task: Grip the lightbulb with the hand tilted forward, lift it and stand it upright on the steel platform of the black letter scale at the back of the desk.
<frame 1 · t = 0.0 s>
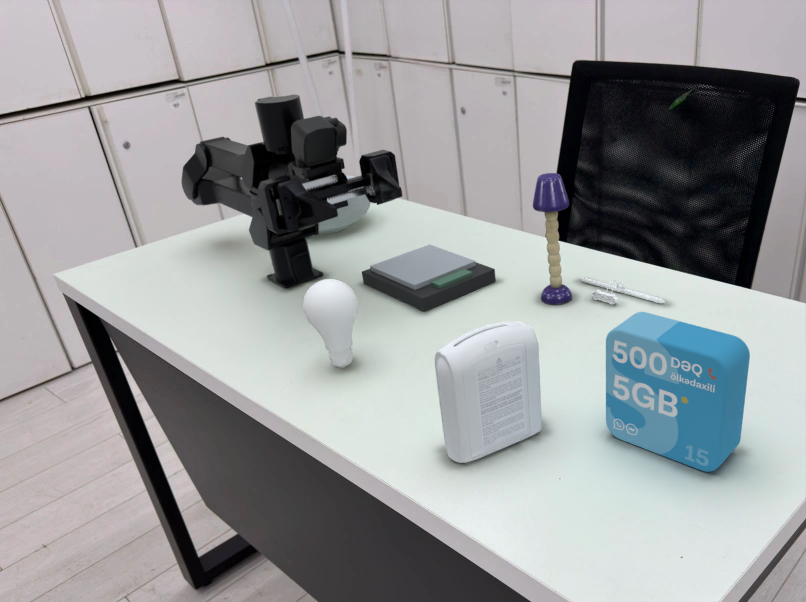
hand: (369, 202, 89), 17 cm above the table, tool horizontal, fingers open, 9 cm apart
scale: (429, 282, 109), on the table
data package: (670, 445, 71), on the table
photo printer: (495, 442, 74), on the table
picture light: (612, 298, 101), on the table
toy lamp: (555, 298, 102), on the table
lightbulb: (343, 367, 89), on the table
cereal bowl: (329, 227, 134), on the table
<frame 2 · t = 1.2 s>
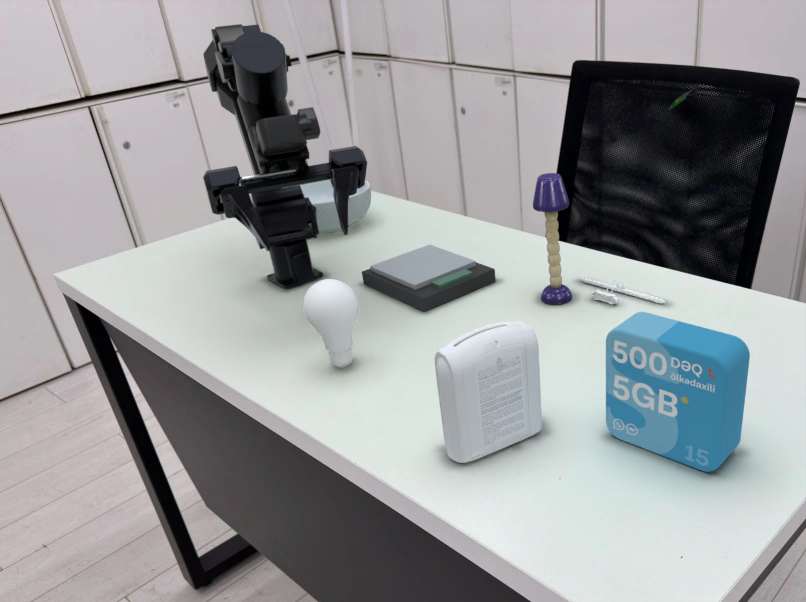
hand: (308, 241, 88), 13 cm above the table, tool tilted 45°, fingers open, 9 cm apart
nothing on the table moved.
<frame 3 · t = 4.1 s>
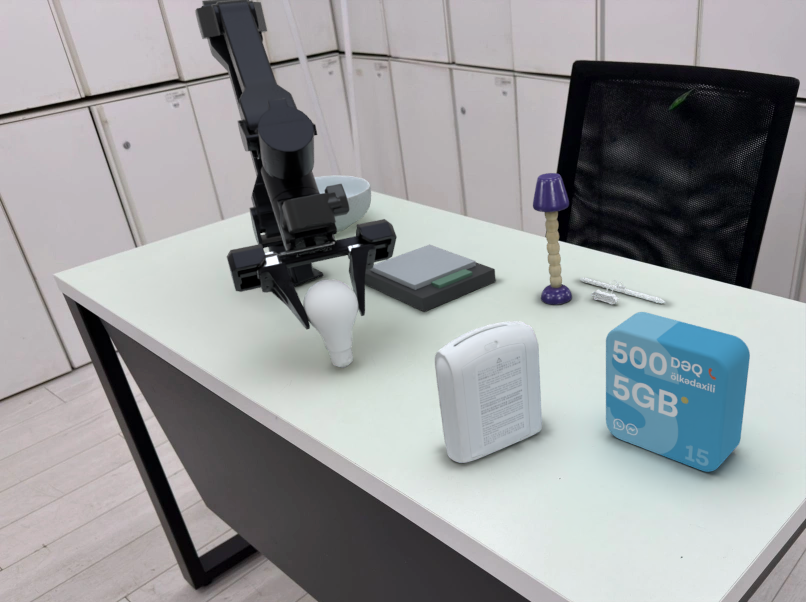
hand: (335, 321, 84), 7 cm above the table, tool tilted 45°, fingers closed on lightbulb, 6 cm apart
lightbulb: (344, 367, 89), on the table, touching gripper
everything else where it was.
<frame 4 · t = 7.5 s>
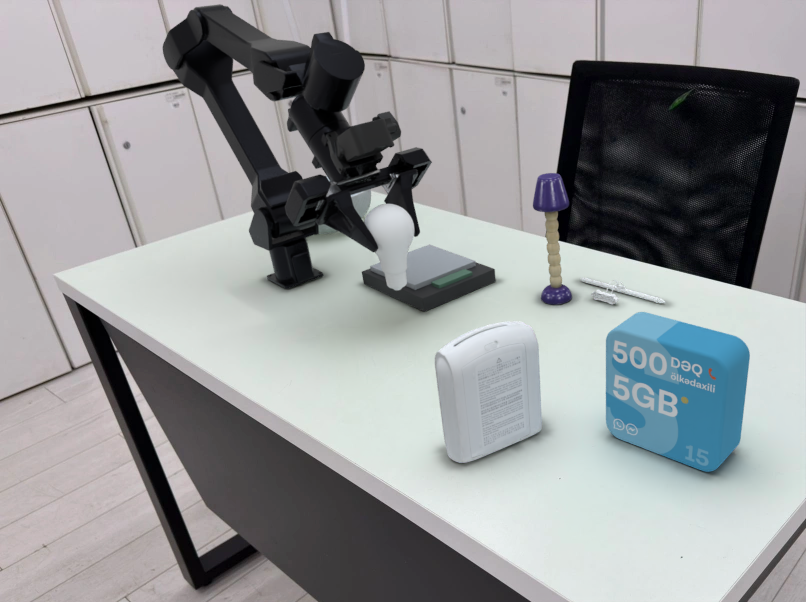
hand: (397, 242, 90), 12 cm above the table, tool tilted 45°, fingers closed on lightbulb, 6 cm apart
lightbulb: (398, 291, 94), point 5 cm above the table, touching gripper
everything else where it was.
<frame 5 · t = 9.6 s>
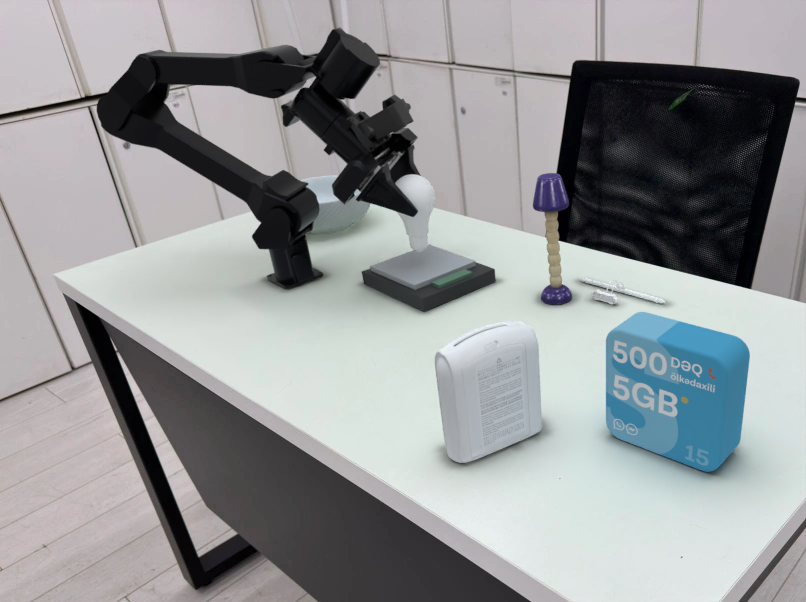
hand: (423, 207, 103), 11 cm above the table, tool tilted 45°, fingers closed on lightbulb, 6 cm apart
lightbulb: (420, 253, 107), point 5 cm above the table, touching gripper
everything else where it was.
when the fingers open (9 cm above the table, at t = 11.1 s): lightbulb stays where it is, resting on scale.
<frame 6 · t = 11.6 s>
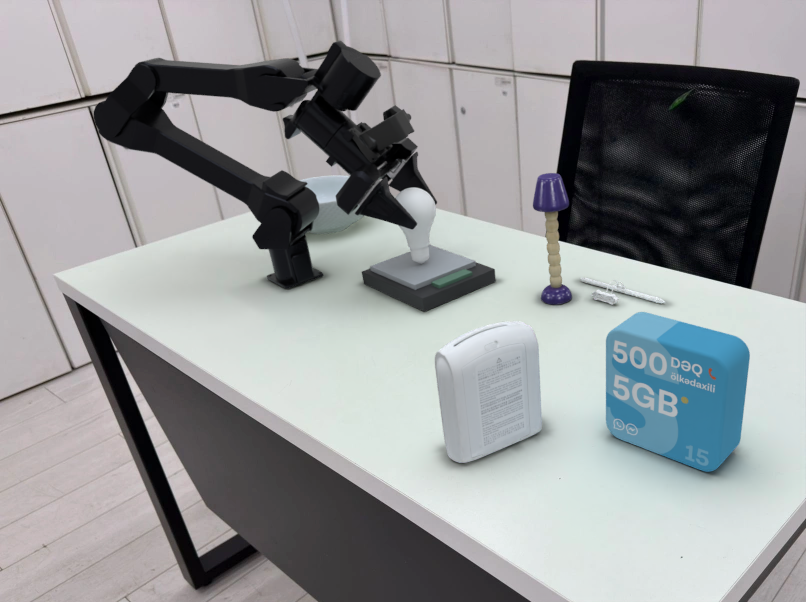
hand: (425, 215, 104), 10 cm above the table, tool tilted 45°, fingers open, 9 cm apart
lightbulb: (421, 264, 108), point 3 cm above the table, touching scale
everything else where it was.
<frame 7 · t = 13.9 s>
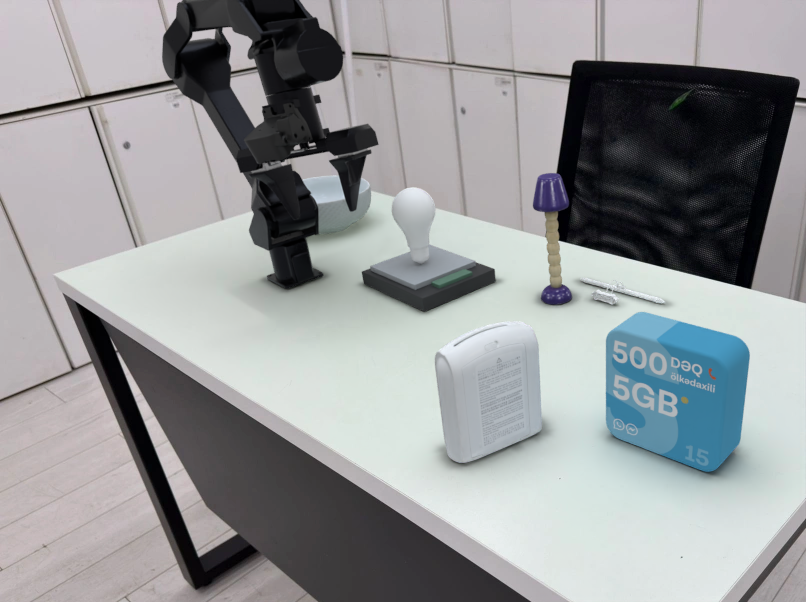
hand: (324, 215, 99), 12 cm above the table, tool pointing down, fingers open, 9 cm apart
nothing on the table moved.
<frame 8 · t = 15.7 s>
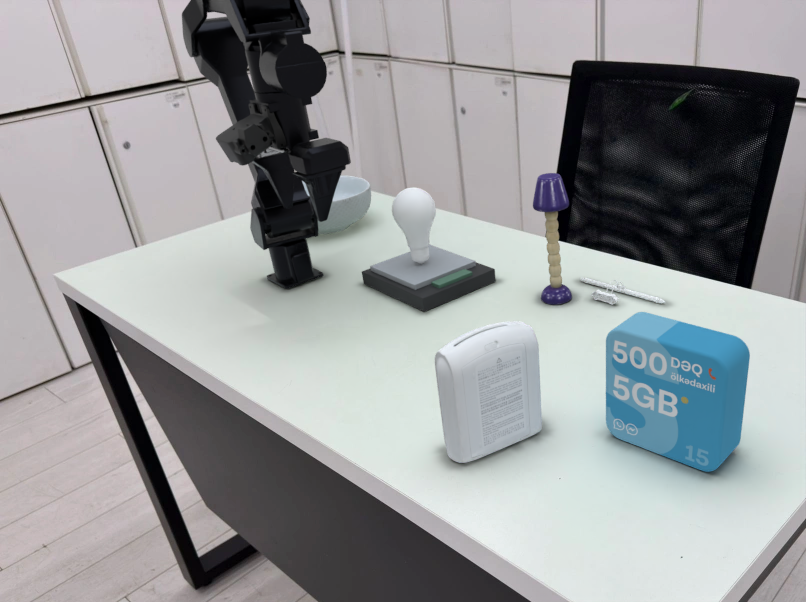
hand: (305, 214, 98), 13 cm above the table, tool pointing down, fingers open, 9 cm apart
nothing on the table moved.
at the end: lightbulb inside the target area on the scale (0.2 cm from its centre), point 2.6 cm above the scale's base; lightbulb tilted 0°; the gripper is holding nothing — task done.
